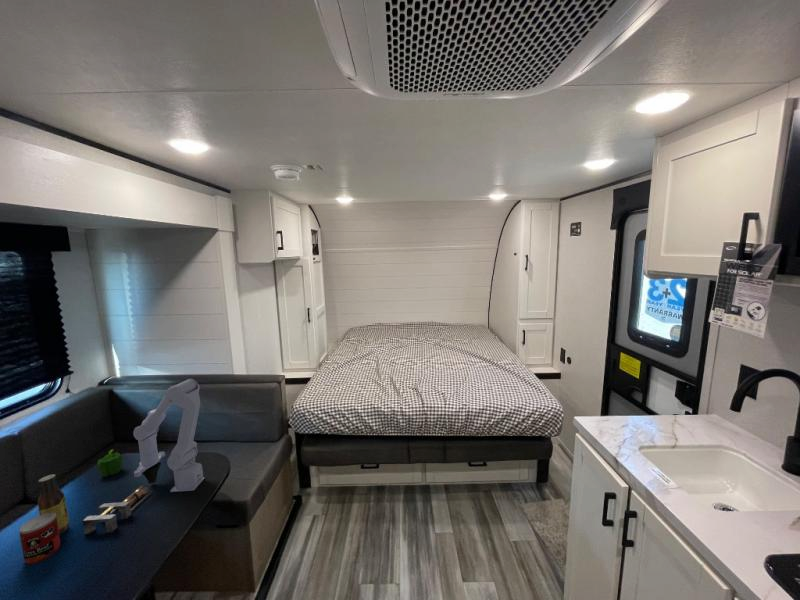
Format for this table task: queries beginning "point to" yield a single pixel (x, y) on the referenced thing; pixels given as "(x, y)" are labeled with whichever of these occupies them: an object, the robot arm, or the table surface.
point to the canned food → (39, 538)
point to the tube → (136, 495)
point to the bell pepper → (110, 464)
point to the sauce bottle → (53, 501)
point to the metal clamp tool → (110, 515)
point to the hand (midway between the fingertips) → (152, 482)
